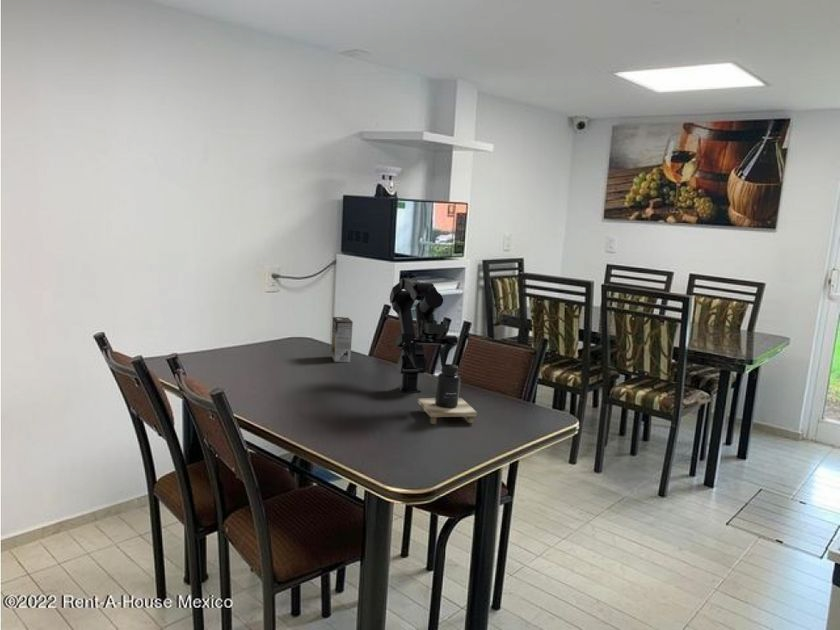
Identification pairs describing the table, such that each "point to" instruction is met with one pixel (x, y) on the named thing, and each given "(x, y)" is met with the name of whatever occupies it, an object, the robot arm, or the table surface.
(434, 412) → the small stand
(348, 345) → the coffee box
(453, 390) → the supplement bottle
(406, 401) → the table surface
